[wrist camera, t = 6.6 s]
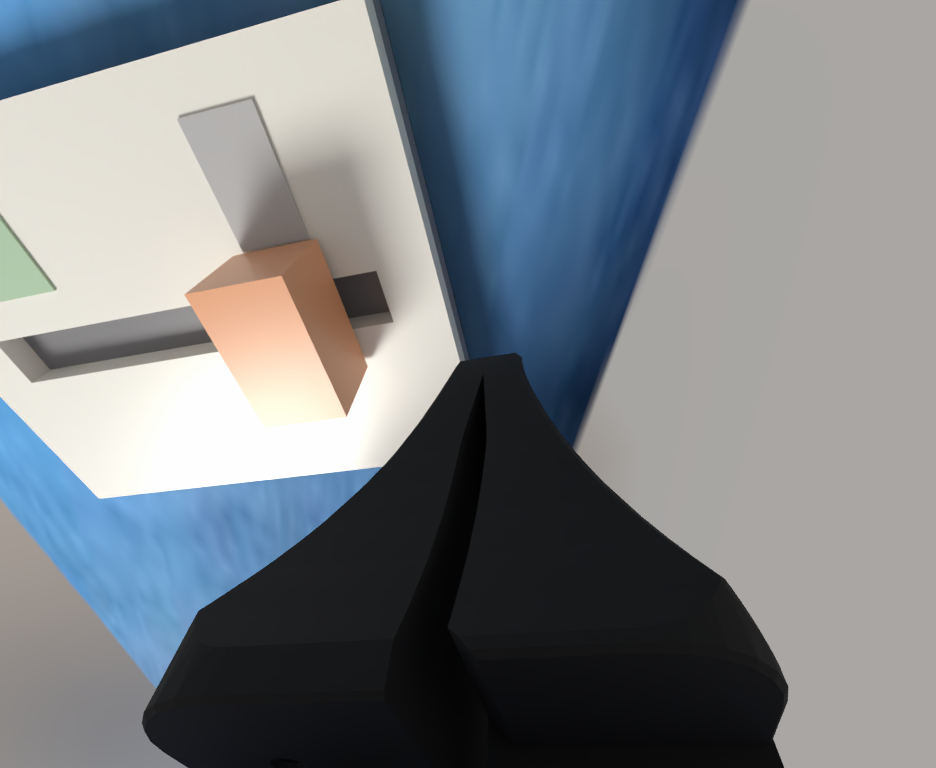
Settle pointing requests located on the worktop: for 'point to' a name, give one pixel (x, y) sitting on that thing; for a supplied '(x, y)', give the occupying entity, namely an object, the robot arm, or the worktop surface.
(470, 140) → the worktop surface
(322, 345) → the switch
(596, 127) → the worktop surface
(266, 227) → the white flat board
